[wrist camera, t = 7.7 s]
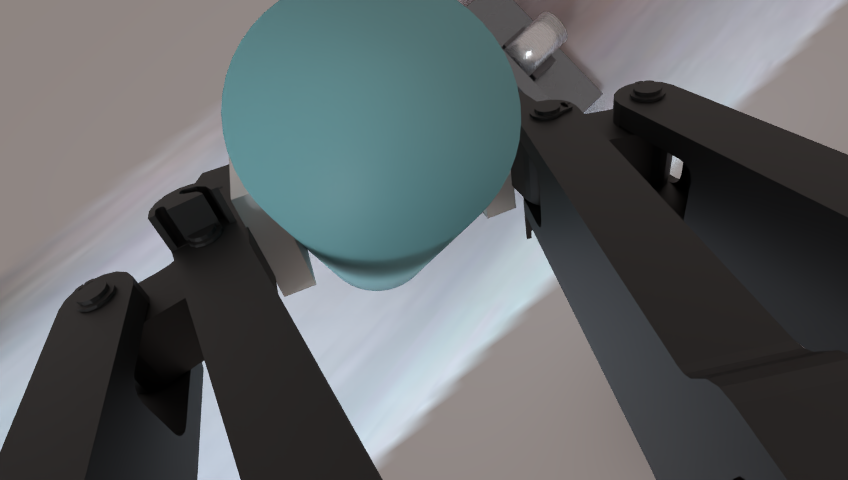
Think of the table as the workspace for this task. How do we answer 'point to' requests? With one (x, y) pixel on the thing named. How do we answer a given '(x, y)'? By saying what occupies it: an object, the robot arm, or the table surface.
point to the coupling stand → (536, 53)
